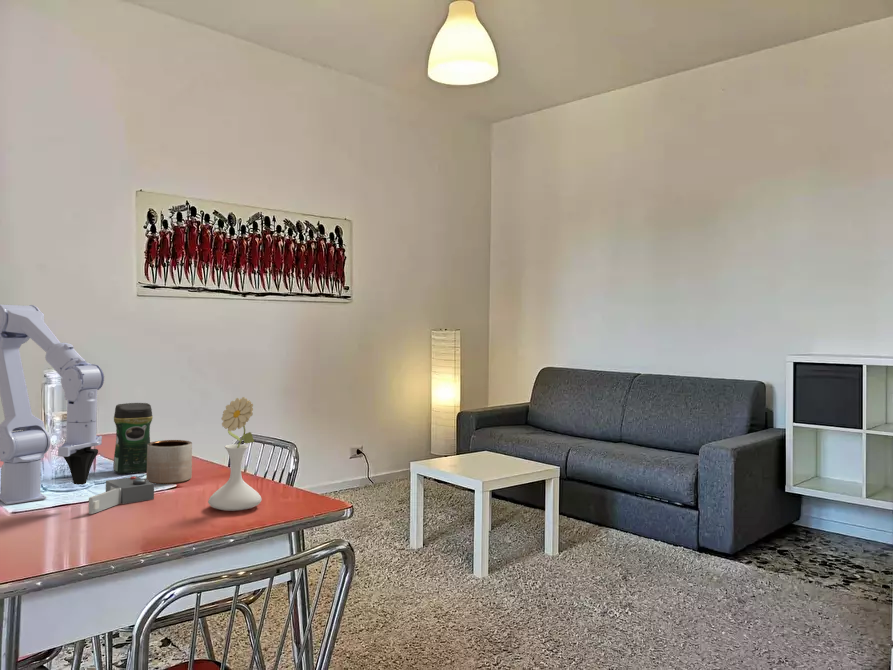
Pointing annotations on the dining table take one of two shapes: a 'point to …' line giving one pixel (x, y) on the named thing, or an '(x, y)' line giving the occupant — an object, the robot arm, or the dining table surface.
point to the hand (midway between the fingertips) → (79, 483)
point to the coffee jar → (132, 437)
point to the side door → (104, 500)
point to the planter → (169, 461)
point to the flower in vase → (236, 461)
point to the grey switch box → (132, 489)
